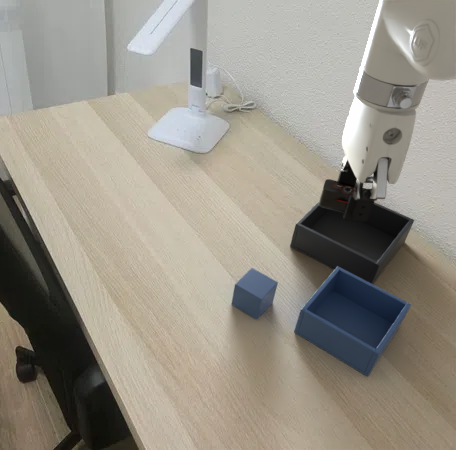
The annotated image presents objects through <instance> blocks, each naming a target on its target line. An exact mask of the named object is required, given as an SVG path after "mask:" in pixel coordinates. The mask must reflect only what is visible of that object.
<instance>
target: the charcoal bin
mask: <svg viewBox="0 0 456 450" xmlns="http://www.w3.org/2000/svg"><path fill="white" fill-rule="evenodd" d="M343 216H344V213H341V212H337V211H334V210H330V209H326V208H323V207H321V206H320V205H319V201H317V202H316V203H315V205H313V206H312V207H311V208H310V209H309V210H308V212H307V213H305V214H304V215H303V216H302V217H301V218H300V219H299V220H298V221H297V222H296V223H295V225H294V230H293V233H292V237H291V240H290V244H289V247H290V248H292V249H294V250H296V251H298V252H300V253H302V254H304V255H306V256H308V257H309V258H312V259H313V260H316V261H317V262H319V263H321V264H323V265H325V266H326V267H328V268H330V269H332V270H333V271H334V270H335V269H336V268H337V266H338V267H340V268H342V269H344V270H346V271H348V272H350V273H352V274H354V275H356V276H358V277H360V278H362V279H363V280H365V281H367V282H369V283H371V284H373V285H375V282H376V281H377V280H378V279H379V277H380V276H381V275H382V273H383V271H384V270H385V269H386V268H387V266H388V265H389V264H390V263H391V261H392V260H393V259H394V257H395V256H396V254H397V253H398V252H399V250H400V249H401V248H402V247H403V245H404V244H405V242H406V240H407V238H408V236H409V233H410V232H411V230H412V226H413V225H414V222H415V219H413V218H411V217H409V216H408V215H404V214H402V213H400V212H398V211H395V210H393V209H391V208H389V207H386V206H384V205H382V204H379V203H377V202H376V201H374V204H373V207H372V210H371V212H370V215H369V218H368V220H367V221H345V220H344V218H343Z"/></svg>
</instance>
